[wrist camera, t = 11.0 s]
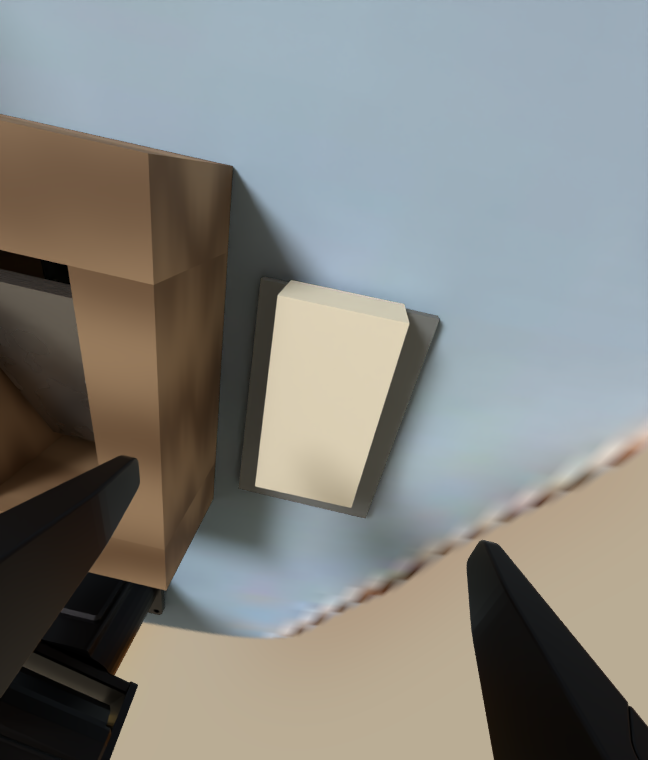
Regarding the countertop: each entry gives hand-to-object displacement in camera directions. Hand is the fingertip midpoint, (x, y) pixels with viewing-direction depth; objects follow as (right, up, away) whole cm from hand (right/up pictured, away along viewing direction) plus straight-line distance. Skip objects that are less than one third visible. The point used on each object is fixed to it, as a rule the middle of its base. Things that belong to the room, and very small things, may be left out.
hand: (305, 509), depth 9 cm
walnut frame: (-11, +5, +10) cm, 15 cm away
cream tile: (+1, +3, +9) cm, 9 cm away
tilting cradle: (-11, +3, +7) cm, 13 cm away
